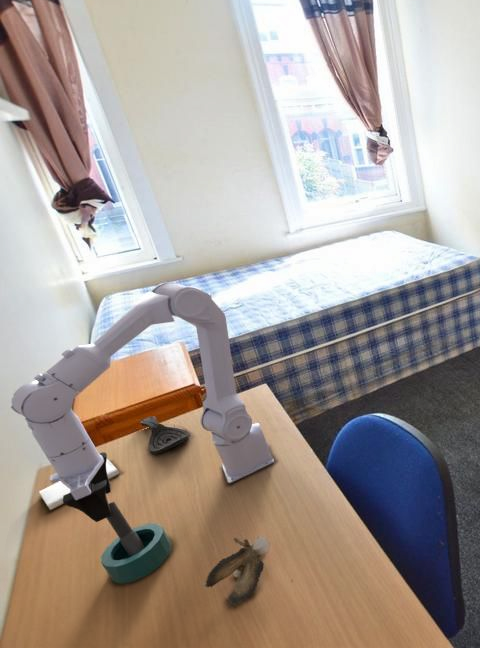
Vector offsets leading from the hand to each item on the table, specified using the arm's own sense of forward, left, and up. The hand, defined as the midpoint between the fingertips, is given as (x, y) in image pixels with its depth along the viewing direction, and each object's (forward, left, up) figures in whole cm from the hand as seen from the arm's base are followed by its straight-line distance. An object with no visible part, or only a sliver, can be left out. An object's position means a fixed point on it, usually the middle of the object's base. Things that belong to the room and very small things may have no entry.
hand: (103, 505), depth 84 cm
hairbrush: (-8, -38, -11) cm, 40 cm away
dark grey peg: (-2, +6, -9) cm, 11 cm away
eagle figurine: (-16, +24, -11) cm, 31 cm away
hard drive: (+8, -30, -11) cm, 33 cm away
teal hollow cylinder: (-2, +6, -10) cm, 12 cm away
